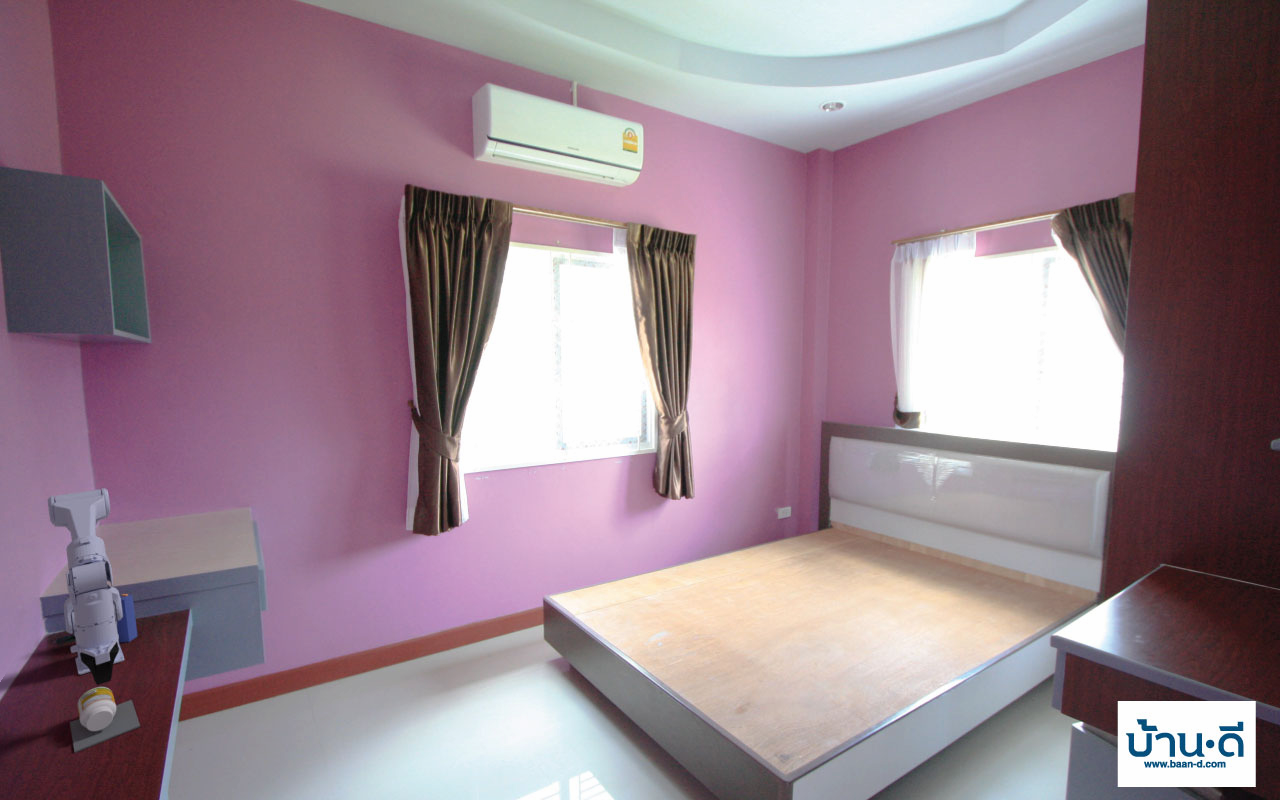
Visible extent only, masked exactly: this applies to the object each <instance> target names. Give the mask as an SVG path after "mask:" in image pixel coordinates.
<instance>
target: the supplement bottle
mask: <svg viewBox="0 0 1280 800" xmlns="http://www.w3.org/2000/svg"><path fill="white" fill-rule="evenodd" d="M116 705H117V704H116V701H115V696H114V693H113V691H112V690H111V689H110V688H108V687H105V686H98V687H93V688H92V689H88V690H87V691H86V692H85V693H83V694H82V695H81V696H80V698H79V699H78V701H77V711H78V718H79V719H80V723H81V724H82V726H84V727H86V728H87V729H88V730H90V731H99V730H102V729H104V728H106V727H107V726H108V725H109V724H110V723H111V722H112V720H113V717H114V715H115V713H116Z"/></svg>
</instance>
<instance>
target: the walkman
mask: <svg viewBox="0 0 1280 800" xmlns="http://www.w3.org/2000/svg"><path fill="white" fill-rule="evenodd" d="M119 595H120V594H119ZM120 598H121V605H122V612H123V617H122V618H121V620H119V621H118V620H117V632H118V635H119V639H118V640H119V643H130V642H131V641H133V640H134V639H135V638H137V637H138V630H137V621H136V614H135V613H136V612H135V603H134V596H133V594H129V593H122V594H121V595H120Z"/></svg>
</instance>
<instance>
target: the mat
mask: <svg viewBox="0 0 1280 800" xmlns="http://www.w3.org/2000/svg"><path fill="white" fill-rule="evenodd" d="M134 706H135V705H134V703H133V700H132V699H130V700H127V701H124V702H122V703H119V704H116V713H115V715H114V717H113V720H112V722H111V723H110V724H109V725H108V726H107V727H106V728H104V729H102V730H99V731H90V730H88V729H87V728H86V727H84V726H82V724H81V723H80V719H76V720H73V721H70V722H69V727H70V732H71V738H72V746H73V751H74V752H73V753H74V754H76V753H78V752H81V751H83V750H85V749H88V748H90V747H93V746H96V745H98V744H100V743H103V742H106V741H108V740H111V739H113V738H115V737H118V736H121V735H124V734H126V733H128V732H130V731H131V732H132V731H133V730H136V729H138V728H141V724H140V722H139V718H138V715H137V712H136V709H135V707H134Z"/></svg>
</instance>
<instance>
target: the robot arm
mask: <svg viewBox="0 0 1280 800" xmlns="http://www.w3.org/2000/svg"><path fill="white" fill-rule="evenodd" d="M47 507H48V515H49V519H50V523H51V524H52V525H54V527H57V528H58V527H59V528H61V527H62V528H66V529H67V530H68V531H69V532H70V538H71V541H70V542H69V544H68V545H67V546H66V551H65V552H66V558H67V568H68V571H67V570H66V572H65V578H66V579H65V580H66V585H67V592H68V595H69V597H68V598H67V599H66V600H65V602H64V603H63V607H64V608H63V609H64V610H63V612H64V613H63V615H64V624H65V630H66V633H67V634H70V635H71V634H73V635H74V637H75V643H76V644H75V645H72V646H70V652H71V654H74V653H77V657H76V658H75V663H76V669H77V674H78V675H84V674H87V673H91V675H92V678H93V680H94V682H95V684H96V685H97V686H99V685H102V684H105V683H106V684H107V683H108V682H111V681H112V676H113V671H114V670H113V668H114V665H115V664H118V663H122V662H124V661H125V657H124V653H123V651H122V647H121V645H120V642H119V640H118V639H119V635H118V632H117V620H118V621H119V620H121V618H122V617H123V612H122V605H121V598H120V592H119V589H117V588H116V587H113V585H114V577H113V569H112V565H111V564H112V563H111V562H110V559H109V556H108V555H107V551H106V545H105V541H104V540H103V538H101V537H99V536H97V525H98V523H99V522H100V521H102V520H104V519H106V518H107V519H108V517H109V516H110V513H111V502H110V496H109V491H108V489H107V488H104V487H103V488H102V487H101V489H100V488H99V489H95V490H94V489H93V490H86V491H79V492H73V493H72V492H71V493H67V494H66V493H64V494H60V495H50V497H48V498H47ZM108 582H109V583H110V585H109V583H108Z"/></svg>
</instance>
